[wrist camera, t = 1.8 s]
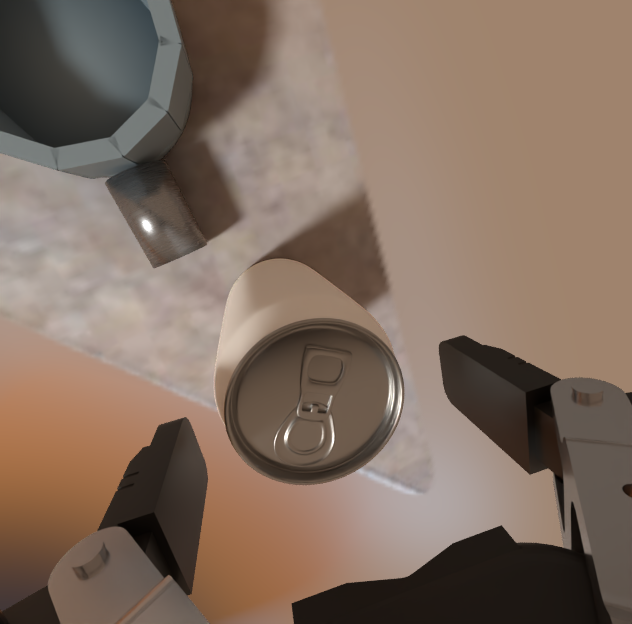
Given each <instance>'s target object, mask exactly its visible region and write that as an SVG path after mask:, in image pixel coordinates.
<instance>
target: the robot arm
mask: <svg viewBox="0 0 632 624" xmlns="http://www.w3.org/2000/svg"><path fill="white" fill-rule="evenodd" d="M439 355H440V363H441V370H442V378H443V385H444V389H445V393H446V395H447V397H448V399H449V400H450V402H451V403H452V404H453V405H454V406H455V407H456V408H457V409H458V410H459V411H461V413H462V414H464V415H465V416H466V417H467V418H468V419H469V420H470V421H471V422H472V423H473V424H475V425H476V426H477V427H478V428H479V429H480V430H482V432H484V433H485V434H486V435H487V436H488V437H489V438H490V439H491V440H492V441H493V442H494V443H496V444H497V445H498V446H499V447H500V448H501V449H502V450H503V451H504V452H506V453H507V454H508V455H509V456H510V457H511V458H512V459H513V460H514V461H516V462H517V463H518V464H519V465H520V466H521V467H522V468H523V469H524V470H525V471H527V472H528V473H529V474H533V473H536V472H539V471H541V470H544V469H547V468H549V469H550V470H551V471H552V472H553V483H554V490H555V497H556V502H557V509H558V515H559V522H560V528H561V534H562V540H563V547H564V548H562V547H558V546H553V545H547V544H539V543H516V542H515V541H514V540H513V539H512V537H511V536H510V535H509V534H508V533H507V531H506V530H505V529H504V528H503V527H502V526H499V527H496V528H493V529H491V530H488V531H485V532H482V533H480V534H477V535H474V536H472V537H469V538H466V539H464V540H461V541H458V542H456V543H453V544H452V545H450V546H449V547H448V548H446V549H445V550H444V551H442V552H441V553H440V554H438V555H437V556H436V557H434V558H433V559H432V560H430V561H429V562H428V563H426V564H425V565H423V566H422V567H421V568H420V569H418V570H417V571H416V572H414V573H413V574H411V575H410V576H408V577H405V578H399V579H388V580H377V581H367V582H366V581H365V582H354V583H346V584H343V585H340V586H337V587H335V588H332V589H330V590H327V591H324V592H321V593H319V594H316V595H313V596H311V597H308V598H305V599H302V600H300V601H297V602H294V603H292V611H293V619H294V624H632V392H630V393H624V391H623V390H622V389H620V388H619V387H617V386H615V385H613V384H611V383H608V382H605V381H601V380H597V379H592V378H568V379H563V380H561V379H559V378H557V377H555V376H553V375H551V374H549V373H548V372H546V371H543V370H542V369H540V368H538V367H536V366H534V365H532V364H530V363H526V361H524V360H522V359H520V358H518V357H515V356H514V355H512V354H511V353H509V352H507V351H505V350H503V349H499V348H496V347H491V346H487V345H481V344H480V343H478V342H476V341H474V340H472V339H470V338H468V337H467V336H459V337H456V338H452V339H449V340H446V341H442V342H441V343H440V344H439ZM207 482H208V475H207V468H206V464H205V460H204V458H203V455H202V453H201V450H200V447H199V444H198V442H197V439H196V436H195V434H194V431H193V429H192V426H191V424H190V422H189V420H188V419H187V418H186V417H184V418H181V419H178V420H175V421H171V422H168V423H164V424H161V425H159V426H158V428H157V430H156V433H155V435H154V438H153V440H152V442H151V445H150V446H147V447H144V448H142V450H141V451H140V452H139V453H138V454H137V455H136V456H135V457H134V458H133V459H132V460H131V461H130V463H129V465H128V467H127V469H126V471H125V474H124V476H123V479H122V480H121V482H120V484H119V486H118V488H117V489H118V491H116V493H115V495H114V497H113V499H112V501H111V503H110V506H109V507H108V509H107V511H106V514H105V516H104V518H103V520H102V522H101V524H100V526H99V529H98V531H97V532H95V533H93V534H91V535H89V536H88V537H86V538H85V539H83V540H82V541H80V542H79V543H78V544H76V545H75V546H74V547H73V548H72V549H70V550H69V551H68V552H67V553H66V554H65V555H64V557H63V558H62V559H61V560H60V561H59V562H58V564H57V565H56V567H55V568H54V570H53V571H52V573H51V575H50V578H49V581H48V585H47V586H46V587H44V588H42V589H41V590H39V591H37V592H35V593H34V594H32V595H30V596H28V597H27V598H25V599H23V600H21V601H20V602H18V603H16V604H14V605H13V606H11V607H9V608H7V609H6V610H4V611H1V610H0V624H210V623H209V622H208V621H207V619H206V618H205V617H204V616H203V615H202V613H201V612H200V611H199V610H198V609H197V607H196V606H195V605H194V604H193V602H192V601H191V600H190V599H189V598H188V596H187V595H190V594H192V587H193V580H194V573H195V567H196V560H197V552H198V546H199V539H200V532H201V525H202V518H203V511H204V504H205V497H206V490H207Z"/></svg>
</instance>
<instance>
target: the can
mask: <svg viewBox="0 0 632 624" xmlns="http://www.w3.org/2000/svg"><path fill="white" fill-rule="evenodd" d="M214 395H215V402H216V406H217V410H218V413H219V415H220V418H221V420H222V422H223V424H224V426H225V427H226V431H227V434H228V437H229V439H230V441H231V444H232V445H233V447H234V449H235V450H236V452H237V453H238V455H239V456H240V457H241V458H242V459H243V460H244V461H245V462H246V463H247V464H248V465H249V466H250V467H251V468H253V469H254V470H255V471H257V472H258V473H260V474H262V475H264V476H266V477H268V478H270V479H273V480H276V481H279V482H283V483H288V484H295V485H312V484H313V485H314V484H321V483H326V482H330V481H333V480H336V479H339V478H342V477H345V476H347V475H349V474H351V473H353V472H355V471H356V470H358V469H360V468H361V467H363V466H364V465H366V464H367V463H368V462H369V461H371V460H372V459H373V458H374V457H375V456H376V455H377V454H378V453H379V452H380V451H381V450H382V449H383V448H384V446H385V445H386V444H387V442H388V441H389V439H390V438H391V436H392V435H393V433H394V431H395V429H396V427H397V425H398V422H399V420H400V417H401V413H402V409H403V403H404V382H403V377H402V373H401V369H400V367H399V364H398V362H397V360H396V358H395V356H394V352H393V348H392V345H391V343H390V341H389V338H388V336H387V335H386V333H385V331H384V330H383V328H382V327H381V326H380V324H379V323H378V322H377V321H376V319H375V318H374V317H373V316H372V315H371V314H370V313H369V312H367V311H366V310H365V309H364V308H363V307H362V306H360V305H359V304H358V303H357V302H355V301H354V300H353V299H352V298H350V297H349V296H348V295H346V294H345V293H344V292H342V291H341V290H340V289H339V288H337V287H336V286H335V285H333V284H332V283H331V282H329V281H328V280H327V279H325V278H324V277H323V276H321V275H320V274H319V273H317V272H316V271H314V270H313V269H312V268H310V267H308V266H307V265H305V264H303V263H300V262H298V261H295V260H290V259H270V260H265V261H262V262H260V263H257V264H255V265H253V266H252V267H250V268H249V269H247V270H246V271H245V272H244V273H242V274H241V276H240V277H239V278H238V279H237V280H236V282H235V283H234V285H233V286H232V288H231V290H230V293H229V296H228V299H227V303H226V308H225V313H224V318H223V323H222V329H221V334H220V340H219V346H218V351H217V358H216V364H215V372H214Z"/></svg>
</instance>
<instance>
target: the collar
mask: <svg viewBox="0 0 632 624" xmlns="http://www.w3.org/2000/svg"><path fill="white" fill-rule="evenodd" d="M192 80H193V74H192V71H191V67H190V63H189V59H188V55H187V52H186V49H185V46H184V42H183V39H182V35H181V32H180V28H179V24H178V21H177V17H176V14H175V11H174V8H173V5H172V2H171V0H0V153H2V154H5V155H8V156H12V157H15V158H18V159H21V160H25V161H28V162H31V163H35V164H38V165H41V166H44V167H48V168H51V169H54V170H58V171H62V172H66V173H70V174H74V175H78V176H82V177H86V178H91V179H95V178H100V177H112V176H114V175H116V174H118V173H120V172H122V171H124V170H127V169H129V168H132V167H134V166H137V165H141V164H144V163H148V162H152V161H159V160H160V159H161V158H162V157H164V156H165V155H166V154H167V153H168V152H169V151H170V150H171V148H172V147H173V146H174V145H175V144H176V142H177V140H178V139H179V137H180V136H181V134H182V132H183V130H184V127H185V125H186V123H187V120H188V116H189V113H190V108H191V101H192Z"/></svg>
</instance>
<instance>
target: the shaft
mask: <svg viewBox="0 0 632 624" xmlns="http://www.w3.org/2000/svg"><path fill="white" fill-rule="evenodd" d="M105 185H106V186H107V188H108V190H109V192H110V193H111V195H112V197H113V199H114V200H115V202H116V204H117V206H118V207H119V209H120V211H121V213H122V214H123V216H124V218H125V219H126V221H127V223H128V225H129V226H130V228H131V230H132V232H133V233H134V235H135V237H136V239H137V240H138V242H139V244H140V246H141V247H142V249H143V251H144V253H145V254H146V256H147V258H148V260H149V261H150V263H151V265H152V267H153V268H156V267H159V266H161V265H164V264H166V263H168V262H171V261H173V260H175V259H178V258H180V257H182V256H184V255H187V254H189V253H191V252H193V251H195V250H197V249H199V248H202V247H204V246H205V245H207V242H206V240H205V239H204V237H203V235H202V233H201V231H200V229H199V227H198V225H197V223H196V221H195V219H194V217H193V215H192V213H191V211H190V209H189V207H188V205H187V203H186V201H185V199H184V197H183V195H182V193H181V191H180V189H179V188H178V186H177V184H176V182H175V180H174V178H173V176H172V174H171V172H170V170H169V168H168V166H167V164H166V162H165V161H161V160H160V161H152V162H148V163H144V164H141V165H137V166H134V167H132V168H129V169H127V170H124V171H122V172H120V173H118V174H116V175H114V176H112V177H111V178H109V179H108V180H107V181H106V182H105Z"/></svg>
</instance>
